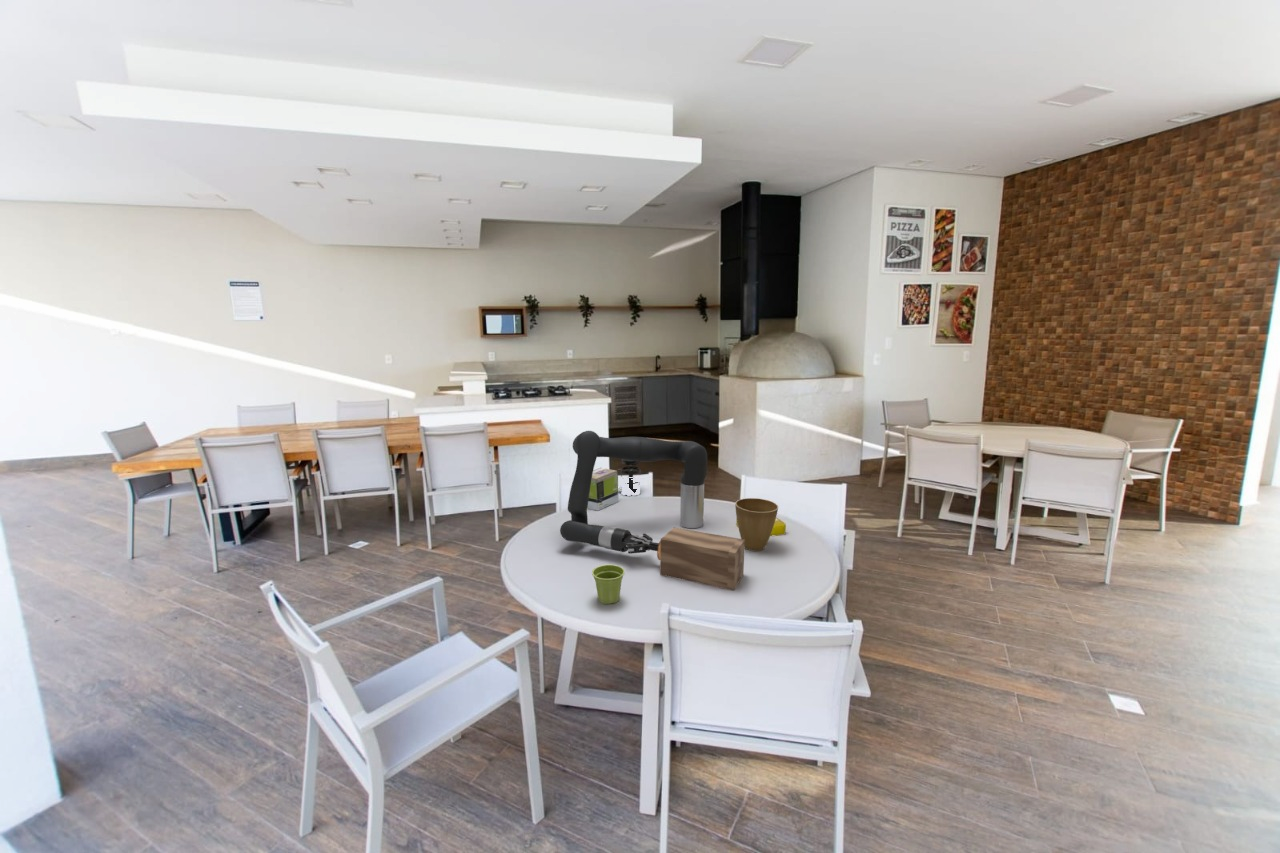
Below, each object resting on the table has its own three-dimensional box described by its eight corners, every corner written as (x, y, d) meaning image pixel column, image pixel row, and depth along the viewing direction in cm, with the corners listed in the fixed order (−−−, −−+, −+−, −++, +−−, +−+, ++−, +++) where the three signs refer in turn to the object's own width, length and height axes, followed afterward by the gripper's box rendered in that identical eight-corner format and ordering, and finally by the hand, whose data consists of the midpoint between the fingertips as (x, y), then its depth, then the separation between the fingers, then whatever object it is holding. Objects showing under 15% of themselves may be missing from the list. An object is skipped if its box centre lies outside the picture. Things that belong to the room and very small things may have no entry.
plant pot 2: (743, 557, 185) (745, 513, 182) (727, 540, 200) (729, 499, 197) (783, 553, 188) (785, 510, 185) (765, 537, 203) (767, 496, 200)
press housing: (673, 560, 183) (673, 527, 180) (743, 575, 173) (744, 539, 170) (660, 574, 173) (660, 539, 170) (733, 590, 163) (735, 553, 160)
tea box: (601, 498, 248) (601, 466, 245) (618, 502, 242) (618, 470, 239) (579, 507, 236) (578, 474, 233) (597, 511, 230) (596, 478, 227)
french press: (641, 490, 260) (641, 443, 255) (642, 496, 250) (642, 447, 246) (617, 490, 259) (616, 443, 255) (617, 496, 250) (617, 448, 245)
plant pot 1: (586, 604, 155) (586, 575, 153) (600, 589, 163) (600, 562, 162) (617, 610, 151) (616, 581, 150) (629, 594, 160) (629, 567, 158)
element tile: (787, 535, 206) (788, 523, 205) (751, 539, 202) (751, 527, 201) (768, 521, 220) (768, 510, 219) (734, 524, 216) (734, 513, 215)
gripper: (605, 535, 178) (653, 544, 171) (623, 522, 190) (669, 530, 182) (605, 556, 179) (653, 566, 172) (623, 542, 191) (669, 551, 184)
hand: (661, 547), depth 177 cm, fingers closed
